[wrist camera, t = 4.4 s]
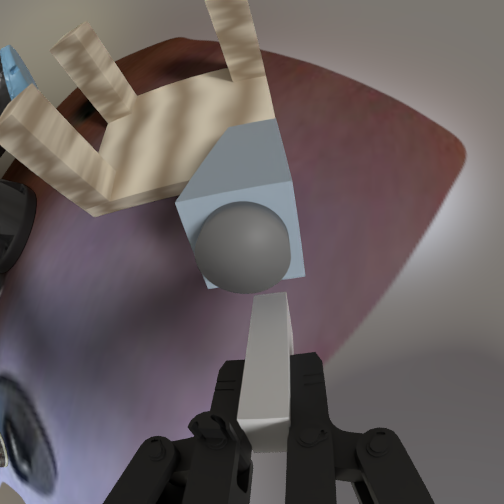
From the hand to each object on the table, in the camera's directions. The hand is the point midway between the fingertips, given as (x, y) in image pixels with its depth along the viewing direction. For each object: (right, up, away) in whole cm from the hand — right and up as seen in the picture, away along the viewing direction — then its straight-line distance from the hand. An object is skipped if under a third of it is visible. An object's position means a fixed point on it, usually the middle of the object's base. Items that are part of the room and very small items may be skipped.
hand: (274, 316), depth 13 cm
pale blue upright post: (-1, +12, +9) cm, 15 cm away
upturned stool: (-9, +17, +17) cm, 26 cm away
